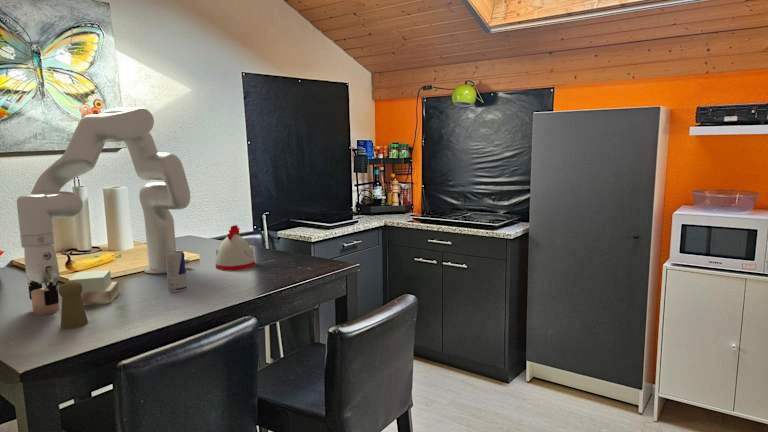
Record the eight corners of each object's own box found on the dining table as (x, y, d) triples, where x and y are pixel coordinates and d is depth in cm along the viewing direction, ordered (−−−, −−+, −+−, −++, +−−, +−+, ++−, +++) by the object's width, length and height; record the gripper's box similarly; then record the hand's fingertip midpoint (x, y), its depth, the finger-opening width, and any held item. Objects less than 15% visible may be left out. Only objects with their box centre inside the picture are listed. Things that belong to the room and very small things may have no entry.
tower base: (119, 293, 162) (117, 281, 161) (111, 304, 151) (110, 290, 151) (79, 297, 159) (77, 284, 158) (68, 308, 148) (67, 294, 148)
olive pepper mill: (68, 321, 136) (63, 280, 134) (92, 320, 136) (88, 279, 135) (55, 329, 130) (50, 286, 128) (81, 328, 130) (76, 285, 129)
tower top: (111, 282, 160) (110, 270, 159) (104, 290, 151) (103, 277, 151) (78, 285, 157) (76, 272, 157) (69, 293, 149) (68, 280, 148)
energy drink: (190, 288, 164) (187, 250, 163) (178, 293, 159) (175, 254, 158) (176, 287, 166) (173, 250, 164) (164, 291, 161) (161, 253, 159)
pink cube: (62, 306, 148) (59, 286, 147) (55, 313, 143) (52, 292, 142) (38, 309, 147) (35, 288, 146) (29, 315, 141) (27, 294, 140)
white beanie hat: (260, 262, 199) (258, 223, 197) (245, 271, 186) (242, 229, 183) (226, 261, 201) (224, 222, 199) (208, 270, 188) (205, 229, 186)
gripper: (67, 240, 140) (73, 303, 142) (39, 235, 150) (45, 293, 152) (35, 245, 134) (42, 310, 136) (9, 239, 144) (15, 299, 146)
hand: (44, 301), depth 144 cm, fingers open, 9 cm apart
